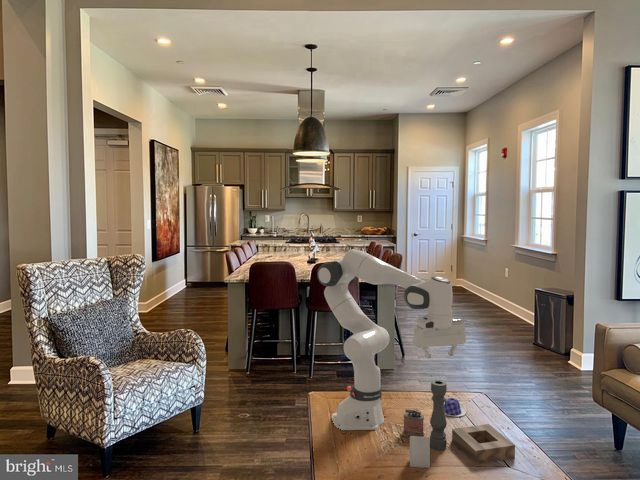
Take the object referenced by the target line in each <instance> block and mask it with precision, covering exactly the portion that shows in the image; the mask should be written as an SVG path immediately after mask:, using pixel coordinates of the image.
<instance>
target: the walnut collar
mask: <svg viewBox="0 0 640 480" xmlns="http://www.w3.org/2000/svg"><path fill="white" fill-rule="evenodd" d="M451 434H452V435H451V441H452V443H453V444H454V445H455V446H456V447H457V448H458V449H459V450H460V451H461V452H462V453H463V454H464V455H465V456H466V457H467V458H468V459H469V460H470V461H471V462H472V463H473V464H474V465H480V464H481V465H482V464H488V463H493V462H500V461H505V460H507V461H508V460H513V459H515V458H516V444H515V443H513V442H512V441H511V440H509V438H507V437H506V436H504V435H503V434H502V433H501V432H500V431H498V430H497V429H496V428H495V427H493V426H492V425H490V424H489V423H485V424H480V425H479V424H478V425H471V426H465V427H463V426H462V427H455V428H452V429H451Z"/></svg>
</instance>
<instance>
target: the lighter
mask: <svg viewBox="0 0 640 480" xmlns="http://www.w3.org/2000/svg"><path fill="white" fill-rule="evenodd" d="M404 412H405V413H403V431H402V432H403V434H404V435H407V436H415V437H425V436H424V434H425V433H424V419H425V417H424V415H422V414H421V413H422V411H421V410H417V409H416V408H413V409H412V408H411V409H410V408H405V411H404Z"/></svg>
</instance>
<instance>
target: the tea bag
mask: <svg viewBox="0 0 640 480" xmlns="http://www.w3.org/2000/svg"><path fill="white" fill-rule="evenodd" d="M430 459H431V447H430V436H429V437H427V436H412V435H409V467H413V468H414V467H415V468H424V467H427V469H430V468H431V460H430Z"/></svg>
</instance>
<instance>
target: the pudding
mask: <svg viewBox="0 0 640 480" xmlns="http://www.w3.org/2000/svg"><path fill="white" fill-rule="evenodd" d="M444 413H445V416H448V417H449V416H450V417H463V416H465V415H466V413H467V410H466V409H465V408H464V407H462V406H461V405H460V401H459V400H458V399H456V398H454V397H449V398H446V401H445V402H444Z"/></svg>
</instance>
